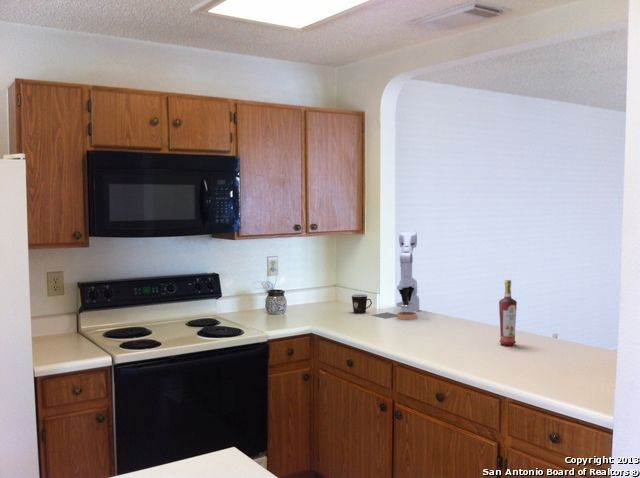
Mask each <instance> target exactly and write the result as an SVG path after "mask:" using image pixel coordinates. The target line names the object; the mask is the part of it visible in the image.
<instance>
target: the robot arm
mask: <svg viewBox="0 0 640 478" xmlns="http://www.w3.org/2000/svg"><path fill="white" fill-rule="evenodd" d="M398 242H399V246H400V248H401V252H400V254H399V263H400V280H399V285H398V284H397V287H396V289H397V290H398V292H399V295H400V297H401V302H407V296H409V303H414V304H415V307H412V308H404V307H401V309H399V311H400V312H420V311H421V309H420V298H419V296H418V295H417V294H418V281H417V280H416V279H415V278H414V277H413V259H414V258H413V251H414V249H415V248H417V246H418V232H416V231H400V232H399V233H398Z"/></svg>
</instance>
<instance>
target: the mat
mask: <svg viewBox="0 0 640 478" xmlns="http://www.w3.org/2000/svg"><path fill="white" fill-rule="evenodd" d="M370 316H371V317H376V318H380V319H385V320H386V319H391V318H397V313H393V312H389V311H387V312H383V313H376V314H371V315H370Z"/></svg>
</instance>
